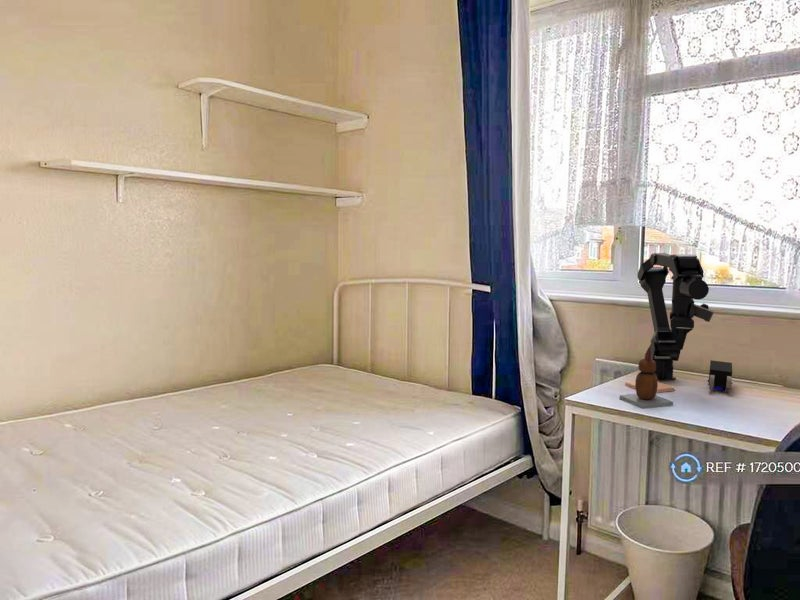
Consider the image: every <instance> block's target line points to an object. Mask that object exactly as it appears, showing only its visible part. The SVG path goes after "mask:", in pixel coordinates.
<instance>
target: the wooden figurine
mask: <svg viewBox="0 0 800 600" xmlns="http://www.w3.org/2000/svg"><path fill="white" fill-rule="evenodd" d="M638 370H639V372H638V373H637V374H636V377H635V381H636V382H635V388H636V389H635V394H637V396H638V397H639V398H641V399H645V400H650V399H653V398H654V397H655V395H657V393H656V392H657V387H658V382H659V380H658V379H657V376H656V374H655V373H653V372H655V370H656V363H655V361H654V360H652V359H651V348H649V347H648V348H647V350H646V352H645V354H644V358H641V359H640V360H639V361H638Z"/></svg>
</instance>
